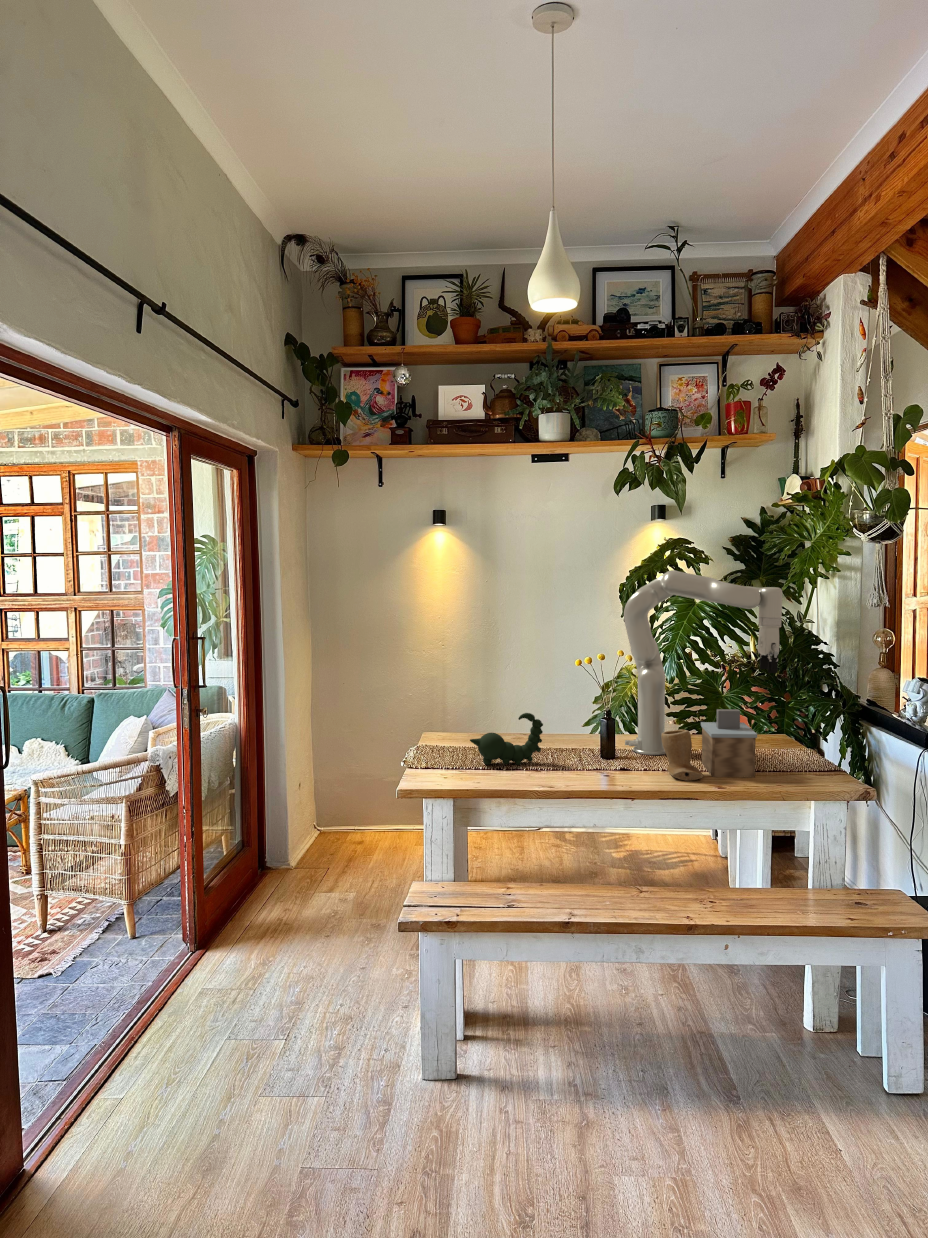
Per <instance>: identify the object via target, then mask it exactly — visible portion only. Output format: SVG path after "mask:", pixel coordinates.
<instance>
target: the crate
mask: <svg viewBox="0 0 928 1238" xmlns="http://www.w3.org/2000/svg"><path fill="white" fill-rule="evenodd" d="M701 729H702V730H701V764H702V765H703V766H704V767H703V768H705V769H706V770H707V772H708V774H709V775H710V776H711V777H714V778H719V777H720V778H755V777H756V741H757V740H756V739H757V738H713V737H710V735H709V734H708V733H707V732H706V731H705V730H704V729H703V728H702V727H701Z"/></svg>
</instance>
